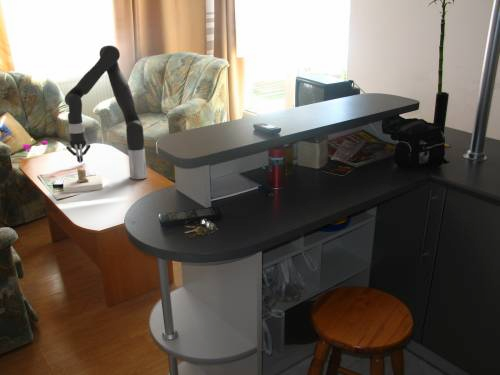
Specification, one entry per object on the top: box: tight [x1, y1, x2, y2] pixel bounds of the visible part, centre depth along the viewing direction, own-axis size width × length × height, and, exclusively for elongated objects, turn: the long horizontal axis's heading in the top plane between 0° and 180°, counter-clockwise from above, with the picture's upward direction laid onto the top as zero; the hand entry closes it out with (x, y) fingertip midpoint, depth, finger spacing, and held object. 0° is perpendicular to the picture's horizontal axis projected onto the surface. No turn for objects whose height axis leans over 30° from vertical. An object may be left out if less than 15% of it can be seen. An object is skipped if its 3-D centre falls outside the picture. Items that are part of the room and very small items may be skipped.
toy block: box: [22, 140, 48, 150], centre depth 337 cm, size 15×6×8 cm, turn 136°
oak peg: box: [77, 167, 87, 183], centre depth 274 cm, size 4×4×10 cm
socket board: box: [62, 174, 104, 194], centre depth 275 cm, size 20×16×3 cm
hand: (80, 162), depth 270 cm, fingers closed
